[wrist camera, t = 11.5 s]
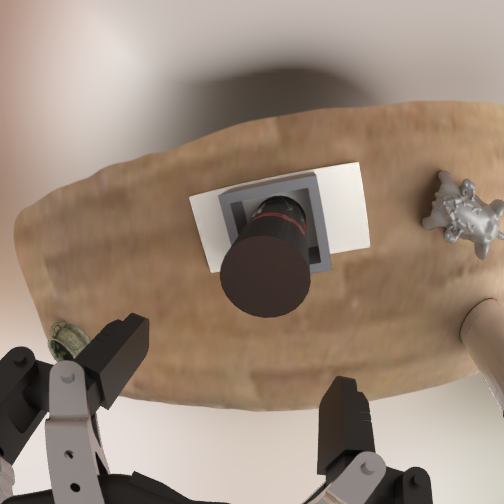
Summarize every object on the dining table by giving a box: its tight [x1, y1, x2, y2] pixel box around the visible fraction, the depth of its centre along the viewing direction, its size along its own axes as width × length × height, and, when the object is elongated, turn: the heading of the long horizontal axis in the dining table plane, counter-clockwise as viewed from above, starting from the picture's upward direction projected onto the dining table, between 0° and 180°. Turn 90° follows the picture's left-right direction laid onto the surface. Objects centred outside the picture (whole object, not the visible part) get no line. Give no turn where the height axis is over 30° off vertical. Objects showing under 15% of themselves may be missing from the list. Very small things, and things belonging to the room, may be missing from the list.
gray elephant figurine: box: [422, 171, 504, 260], centre depth 25 cm, size 9×12×8 cm
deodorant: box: [220, 195, 311, 318], centre depth 25 cm, size 6×6×15 cm
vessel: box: [48, 321, 90, 362], centre depth 46 cm, size 12×9×6 cm
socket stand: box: [189, 162, 370, 274], centre depth 30 cm, size 20×10×6 cm, turn 104°
